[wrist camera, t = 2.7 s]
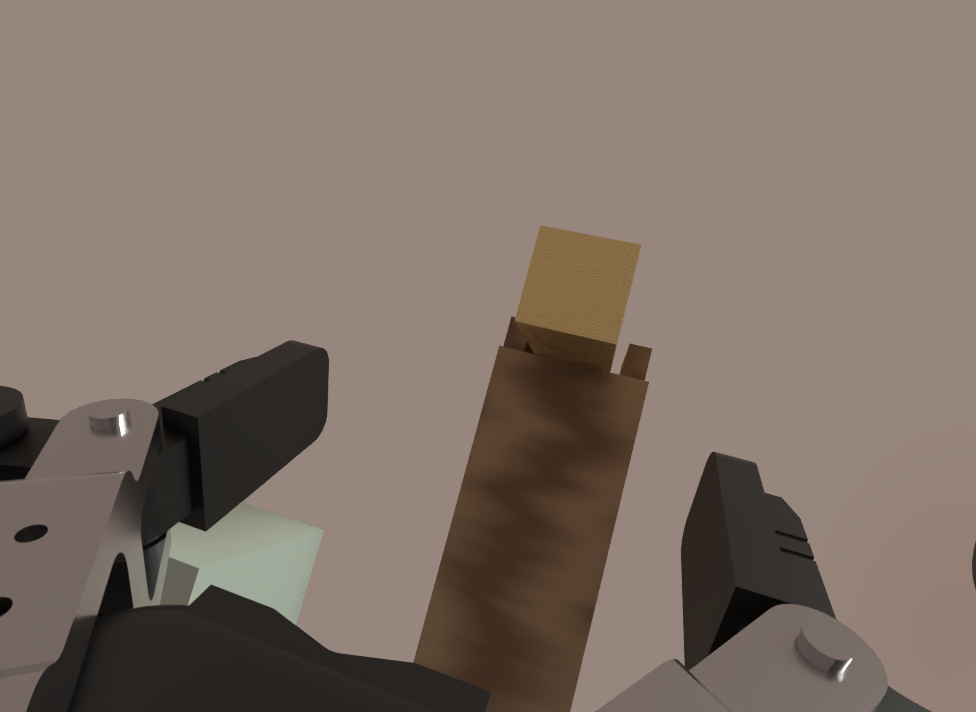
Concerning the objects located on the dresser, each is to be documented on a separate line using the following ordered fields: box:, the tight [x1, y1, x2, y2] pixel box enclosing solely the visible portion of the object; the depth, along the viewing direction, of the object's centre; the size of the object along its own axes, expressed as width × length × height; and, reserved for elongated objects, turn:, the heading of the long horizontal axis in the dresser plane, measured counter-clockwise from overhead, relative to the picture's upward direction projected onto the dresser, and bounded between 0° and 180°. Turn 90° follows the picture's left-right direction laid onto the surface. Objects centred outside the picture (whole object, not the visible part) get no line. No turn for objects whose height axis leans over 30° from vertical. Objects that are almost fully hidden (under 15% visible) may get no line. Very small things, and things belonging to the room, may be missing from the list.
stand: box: [413, 317, 652, 712], centre depth 27 cm, size 7×7×34 cm
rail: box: [515, 226, 641, 372], centre depth 26 cm, size 4×15×4 cm, turn 169°
